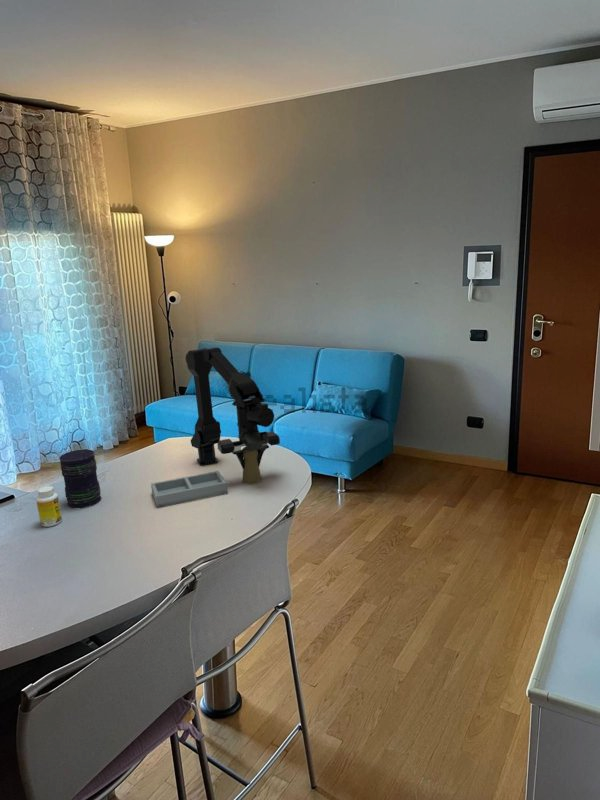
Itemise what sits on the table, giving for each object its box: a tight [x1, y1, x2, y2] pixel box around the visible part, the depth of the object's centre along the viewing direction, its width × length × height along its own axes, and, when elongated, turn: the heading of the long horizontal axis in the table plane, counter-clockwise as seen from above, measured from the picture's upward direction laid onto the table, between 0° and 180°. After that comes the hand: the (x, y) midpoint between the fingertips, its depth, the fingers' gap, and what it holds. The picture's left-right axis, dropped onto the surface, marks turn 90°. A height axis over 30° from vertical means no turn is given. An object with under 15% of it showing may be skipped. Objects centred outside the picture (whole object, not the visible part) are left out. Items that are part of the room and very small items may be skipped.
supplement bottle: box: [35, 485, 63, 528], centre depth 161 cm, size 6×6×10 cm
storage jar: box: [59, 448, 102, 509], centre depth 174 cm, size 10×10×15 cm
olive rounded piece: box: [241, 446, 262, 485], centre depth 183 cm, size 6×6×11 cm
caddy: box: [150, 470, 229, 509], centre depth 176 cm, size 11×21×4 cm, turn 111°
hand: (250, 468), depth 183 cm, fingers closed on olive rounded piece, 4 cm apart
